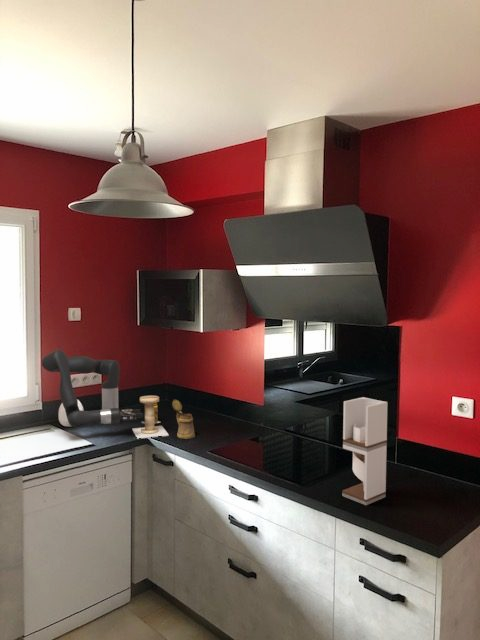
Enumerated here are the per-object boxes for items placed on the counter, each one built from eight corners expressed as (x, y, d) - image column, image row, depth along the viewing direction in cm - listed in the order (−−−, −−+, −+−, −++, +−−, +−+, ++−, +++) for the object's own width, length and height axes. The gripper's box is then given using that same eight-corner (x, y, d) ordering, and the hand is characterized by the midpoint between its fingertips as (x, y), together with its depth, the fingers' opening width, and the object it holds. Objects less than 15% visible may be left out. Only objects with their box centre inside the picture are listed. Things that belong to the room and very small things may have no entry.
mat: (132, 429, 278) (132, 428, 278) (161, 426, 284) (161, 425, 283) (137, 438, 261) (137, 437, 261) (168, 435, 267) (168, 434, 267)
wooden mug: (180, 431, 275) (180, 397, 274) (198, 436, 266) (198, 401, 265) (167, 434, 268) (167, 400, 267) (185, 440, 259) (185, 404, 258)
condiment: (160, 422, 293) (160, 401, 292) (148, 425, 287) (147, 403, 286) (153, 419, 298) (153, 399, 297) (140, 422, 292) (140, 401, 291)
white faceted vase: (64, 429, 277) (64, 404, 277) (54, 424, 287) (54, 400, 286) (88, 425, 286) (87, 401, 285) (77, 420, 296) (77, 397, 295)
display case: (361, 488, 199) (363, 397, 196) (385, 497, 190) (387, 402, 188) (342, 495, 191) (343, 401, 189) (366, 505, 183) (367, 406, 181)
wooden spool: (138, 430, 275) (138, 396, 274) (157, 428, 279) (157, 394, 277) (141, 435, 266) (141, 400, 265) (161, 433, 269) (160, 398, 268)
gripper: (111, 412, 258) (144, 409, 263) (108, 405, 271) (139, 403, 277) (111, 427, 258) (144, 424, 264) (108, 419, 272) (139, 417, 277)
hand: (141, 413), depth 270 cm, fingers open, 8 cm apart
